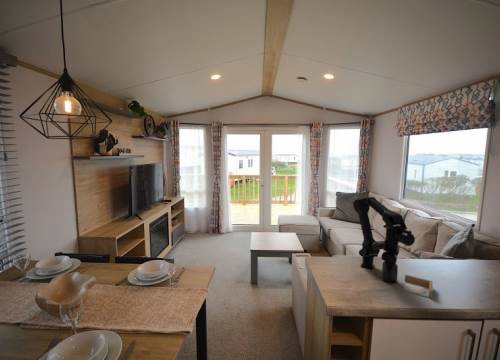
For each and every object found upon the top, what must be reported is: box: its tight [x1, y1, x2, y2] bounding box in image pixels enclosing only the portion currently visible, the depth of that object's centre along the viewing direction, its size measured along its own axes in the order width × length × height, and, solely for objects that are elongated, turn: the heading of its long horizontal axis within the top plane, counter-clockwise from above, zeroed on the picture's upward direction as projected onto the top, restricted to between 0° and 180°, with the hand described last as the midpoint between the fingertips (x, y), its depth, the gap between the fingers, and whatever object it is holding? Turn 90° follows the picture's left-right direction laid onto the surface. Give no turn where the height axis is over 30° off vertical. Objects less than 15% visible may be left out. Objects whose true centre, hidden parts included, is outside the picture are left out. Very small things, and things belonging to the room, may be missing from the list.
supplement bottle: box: [381, 260, 399, 285], centre depth 122 cm, size 7×7×12 cm
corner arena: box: [402, 274, 434, 300], centre depth 115 cm, size 11×11×4 cm
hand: (389, 268), depth 122 cm, fingers open, 9 cm apart
